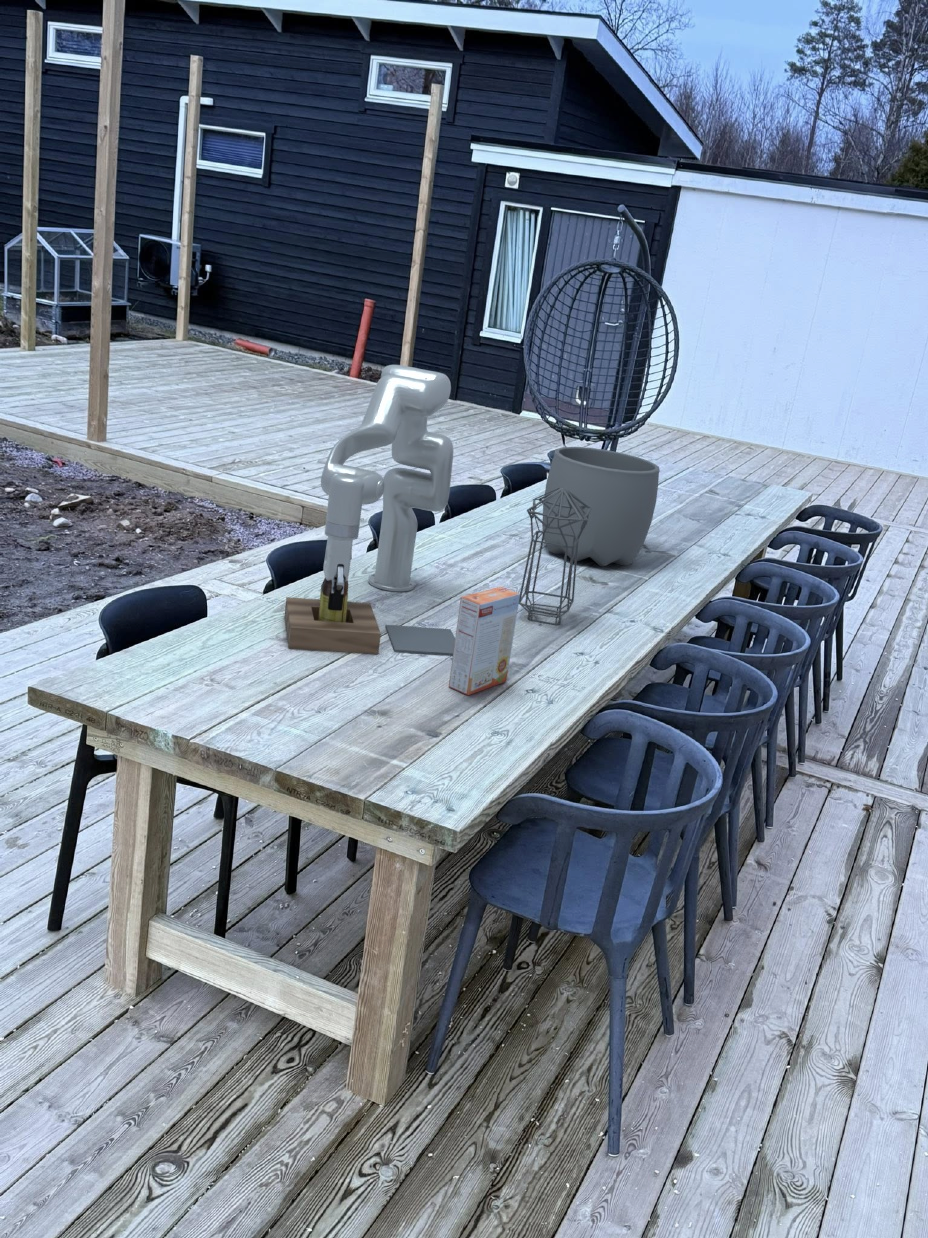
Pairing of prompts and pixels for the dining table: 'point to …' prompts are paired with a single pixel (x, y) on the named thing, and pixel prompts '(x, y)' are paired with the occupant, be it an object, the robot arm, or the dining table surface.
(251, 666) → the dining table surface
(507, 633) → the cracker box
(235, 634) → the dining table surface
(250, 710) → the dining table surface
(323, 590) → the sauce bottle
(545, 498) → the geometric lantern
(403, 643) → the rubber mat
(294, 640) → the holder block
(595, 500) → the planter pot
